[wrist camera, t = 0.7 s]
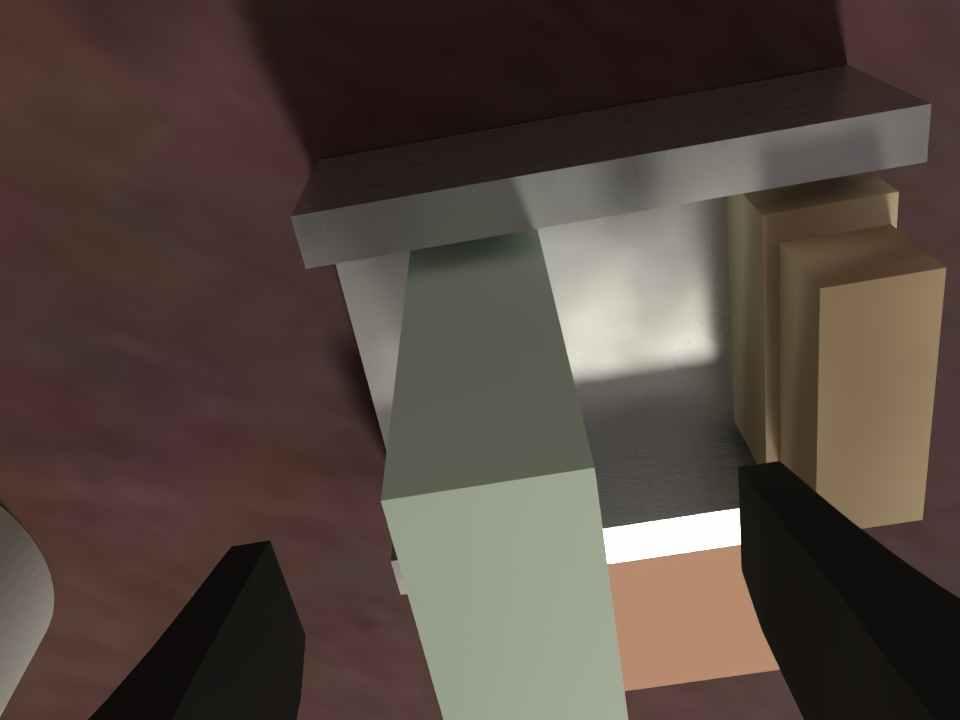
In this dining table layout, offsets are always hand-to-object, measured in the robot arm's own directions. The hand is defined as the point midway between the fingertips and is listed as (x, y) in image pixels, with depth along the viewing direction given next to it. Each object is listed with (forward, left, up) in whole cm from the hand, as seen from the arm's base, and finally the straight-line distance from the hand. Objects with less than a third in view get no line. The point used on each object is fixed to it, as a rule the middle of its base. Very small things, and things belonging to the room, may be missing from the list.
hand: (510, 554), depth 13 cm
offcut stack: (-7, 0, -7) cm, 9 cm away
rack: (-3, 0, -8) cm, 8 cm away
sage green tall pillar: (0, 0, -7) cm, 7 cm away
